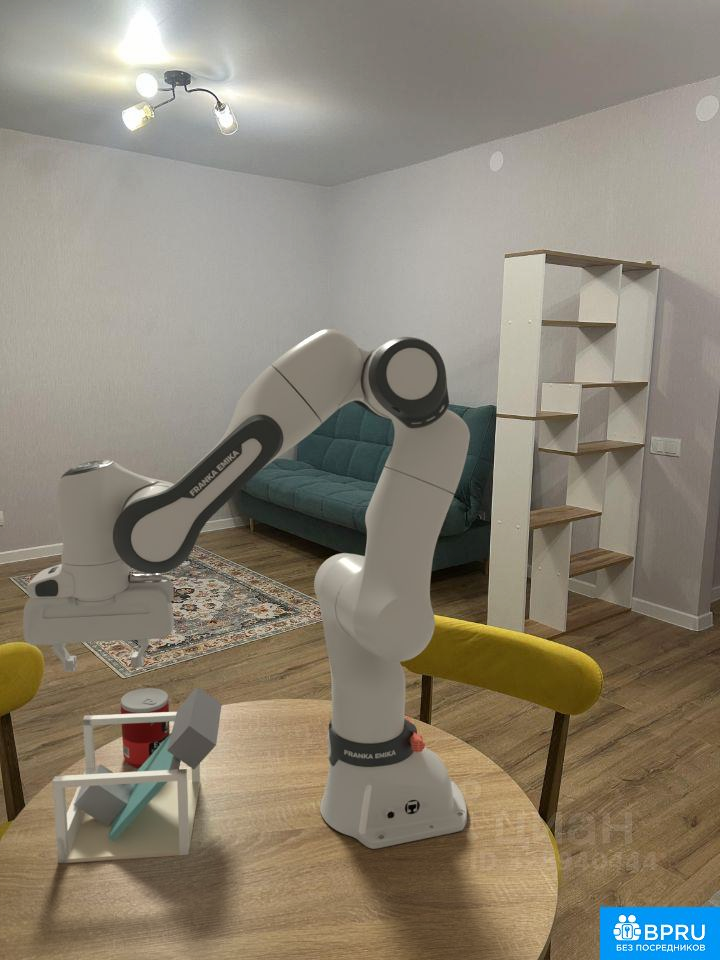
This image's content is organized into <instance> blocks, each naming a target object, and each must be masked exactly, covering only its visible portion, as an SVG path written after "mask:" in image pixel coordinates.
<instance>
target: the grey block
mask: <svg viewBox="0 0 720 960" xmlns="http://www.w3.org/2000/svg"><path fill="white" fill-rule="evenodd" d="M103 773H114V771H112V770H110V769H109V768H107V767H106V766H104V765H103V764H102V763H100V764H99V765H98V766H96V770H95V771H94V772H93V773H92V774H103ZM132 787H133V785H132V784H115V785H97V786H81V789H80V791H79V793H78V796H77V798H76V800H75V803H74V806H76V807H77V808H79V809H80V810H82V811H84V812H85V813H87V814H88V815H90V816H92V817H93V818H95V819H96V820H98V821H99V822H101V823H103V824H104V825H106V826H107V827H108V826H109V825H110V823H111V822H112V821H113V820H114V819H115V818H116V816H117V815H118V814H119V813H120V812H121V811H122V809H123V808H124V807H125V806H126V805H127V803H128V800H129V797H130V793H131V790H132Z"/></svg>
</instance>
